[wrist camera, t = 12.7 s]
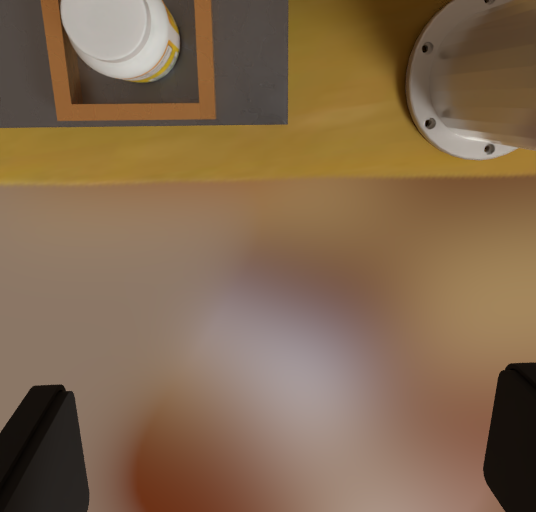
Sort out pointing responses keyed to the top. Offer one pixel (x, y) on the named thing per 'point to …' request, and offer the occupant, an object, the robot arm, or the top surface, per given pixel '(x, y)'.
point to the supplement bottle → (123, 37)
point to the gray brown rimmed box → (157, 92)
